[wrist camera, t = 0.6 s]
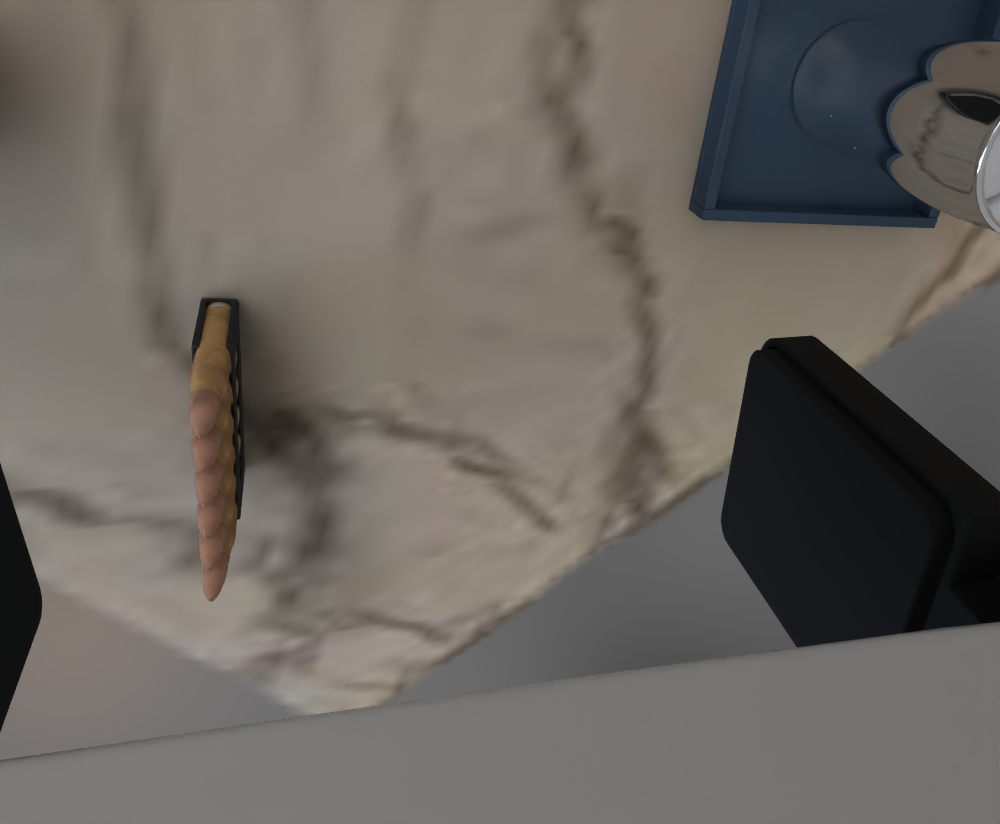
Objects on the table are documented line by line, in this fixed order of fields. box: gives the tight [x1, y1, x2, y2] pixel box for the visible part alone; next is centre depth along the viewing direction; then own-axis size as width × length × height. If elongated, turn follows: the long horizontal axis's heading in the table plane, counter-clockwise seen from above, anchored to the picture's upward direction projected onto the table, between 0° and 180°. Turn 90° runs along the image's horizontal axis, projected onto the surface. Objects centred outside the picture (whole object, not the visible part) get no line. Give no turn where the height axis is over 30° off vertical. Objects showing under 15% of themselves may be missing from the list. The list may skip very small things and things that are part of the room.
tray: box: [689, 0, 1000, 228], centre depth 45 cm, size 14×14×2 cm
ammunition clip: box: [190, 299, 245, 602], centre depth 43 cm, size 11×2×12 cm, turn 173°
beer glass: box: [792, 20, 1000, 234], centre depth 39 cm, size 7×7×15 cm
